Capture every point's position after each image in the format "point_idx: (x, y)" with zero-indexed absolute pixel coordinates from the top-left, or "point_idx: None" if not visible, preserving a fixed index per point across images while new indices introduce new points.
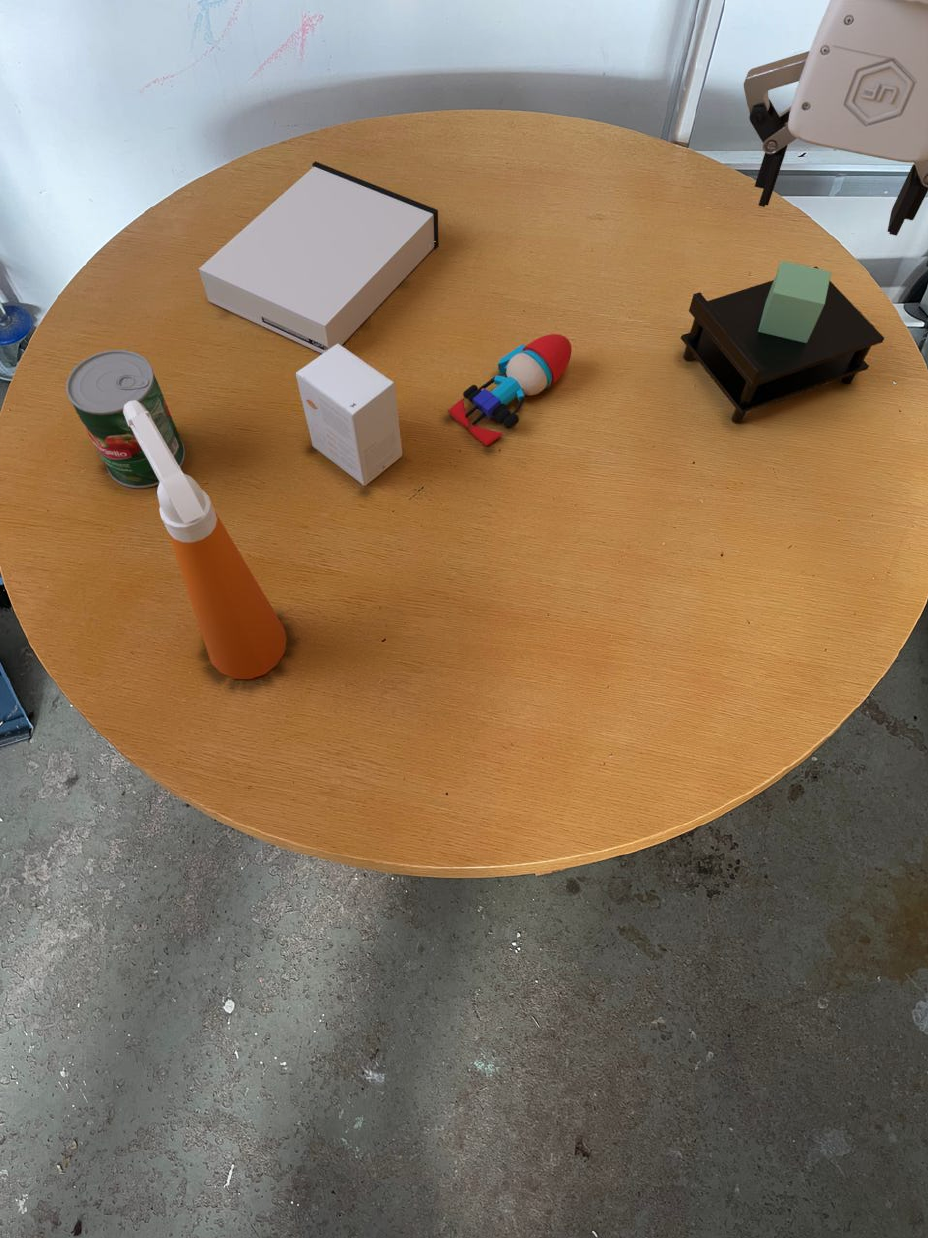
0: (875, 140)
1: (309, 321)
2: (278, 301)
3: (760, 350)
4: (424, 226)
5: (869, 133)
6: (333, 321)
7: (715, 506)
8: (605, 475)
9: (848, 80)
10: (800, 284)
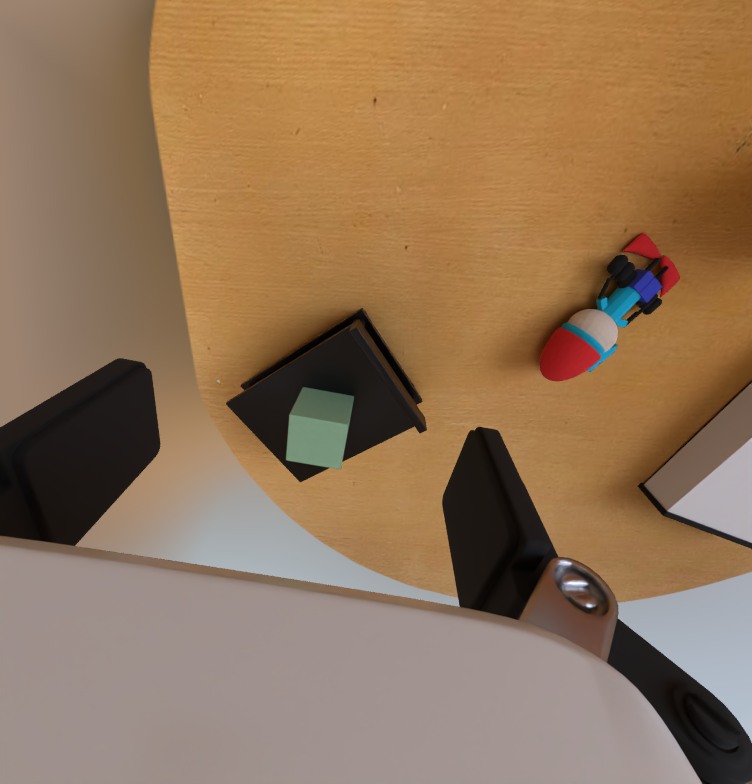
0: (52, 672)
1: None
2: None
3: (350, 370)
4: (677, 497)
5: (90, 743)
6: None
7: (382, 183)
8: (505, 211)
9: None
10: (318, 438)
